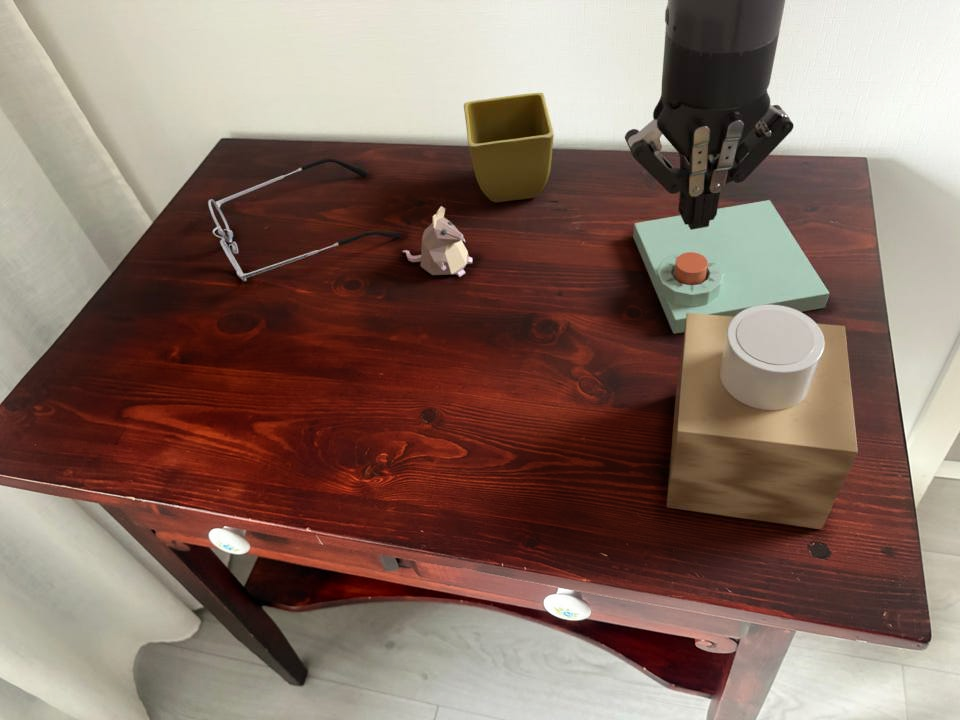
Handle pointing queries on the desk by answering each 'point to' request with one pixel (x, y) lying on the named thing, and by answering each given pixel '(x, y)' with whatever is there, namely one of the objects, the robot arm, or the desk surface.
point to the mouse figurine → (442, 248)
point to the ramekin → (771, 356)
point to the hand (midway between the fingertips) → (696, 222)
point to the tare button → (691, 268)
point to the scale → (729, 264)
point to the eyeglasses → (244, 276)
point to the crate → (759, 437)
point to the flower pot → (510, 145)
